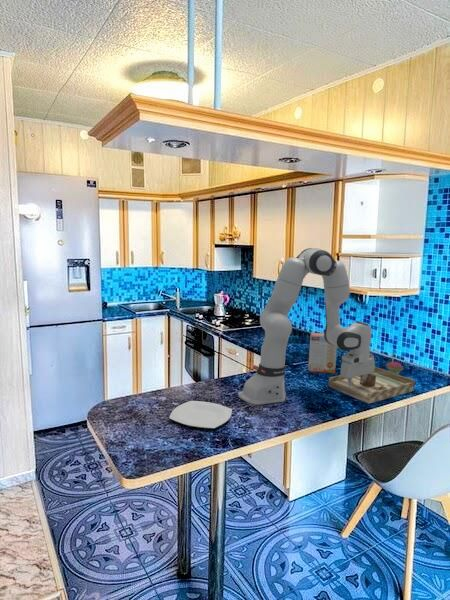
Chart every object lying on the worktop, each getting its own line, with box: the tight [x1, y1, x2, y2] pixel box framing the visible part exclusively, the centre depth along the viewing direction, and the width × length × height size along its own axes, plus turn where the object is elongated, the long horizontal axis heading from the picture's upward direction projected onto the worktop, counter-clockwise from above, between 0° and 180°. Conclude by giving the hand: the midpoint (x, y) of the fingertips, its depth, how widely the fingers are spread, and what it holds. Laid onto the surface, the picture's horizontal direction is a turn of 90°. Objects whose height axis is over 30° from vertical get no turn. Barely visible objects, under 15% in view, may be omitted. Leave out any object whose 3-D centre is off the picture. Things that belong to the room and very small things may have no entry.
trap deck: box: [327, 366, 416, 405], centre depth 206 cm, size 34×24×6 cm
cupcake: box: [385, 353, 404, 375], centre depth 229 cm, size 9×8×12 cm
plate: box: [168, 400, 233, 430], centre depth 166 cm, size 23×23×2 cm
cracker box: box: [307, 332, 338, 374], centre depth 229 cm, size 14×6×21 cm, turn 84°
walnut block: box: [360, 374, 376, 387], centre depth 204 cm, size 5×5×5 cm
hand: (356, 384), depth 200 cm, fingers open, 7 cm apart
